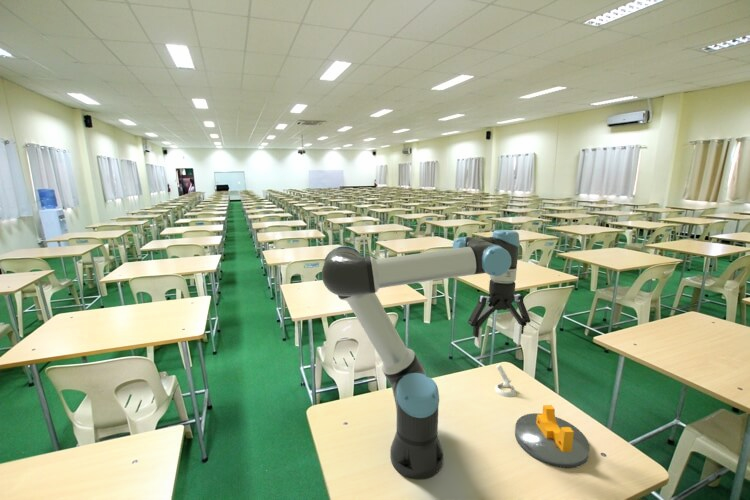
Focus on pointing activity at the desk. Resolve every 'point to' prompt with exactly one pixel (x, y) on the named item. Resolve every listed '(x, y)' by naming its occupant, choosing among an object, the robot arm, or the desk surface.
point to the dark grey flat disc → (550, 443)
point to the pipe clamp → (555, 429)
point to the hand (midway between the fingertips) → (497, 344)
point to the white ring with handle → (504, 384)
